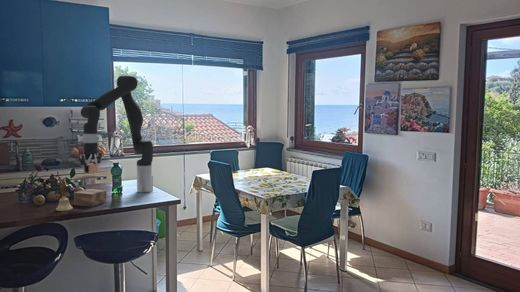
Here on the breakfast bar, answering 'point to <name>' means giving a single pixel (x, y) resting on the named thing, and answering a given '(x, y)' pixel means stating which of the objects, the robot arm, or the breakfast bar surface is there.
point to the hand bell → (63, 199)
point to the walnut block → (89, 197)
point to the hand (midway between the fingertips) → (90, 171)
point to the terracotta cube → (92, 169)
